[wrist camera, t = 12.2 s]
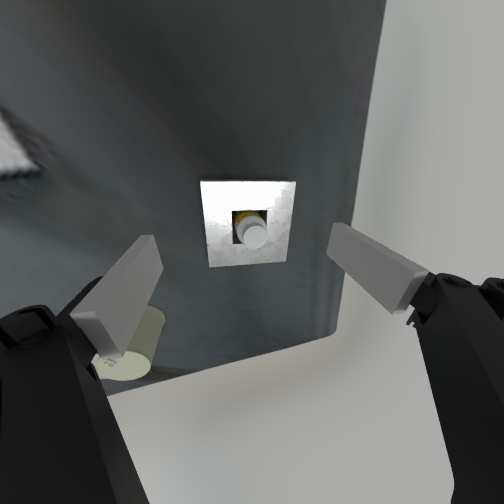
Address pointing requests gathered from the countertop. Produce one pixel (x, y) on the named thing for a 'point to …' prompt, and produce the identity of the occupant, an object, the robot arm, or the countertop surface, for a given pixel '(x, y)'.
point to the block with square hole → (246, 198)
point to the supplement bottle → (250, 228)
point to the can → (136, 349)
